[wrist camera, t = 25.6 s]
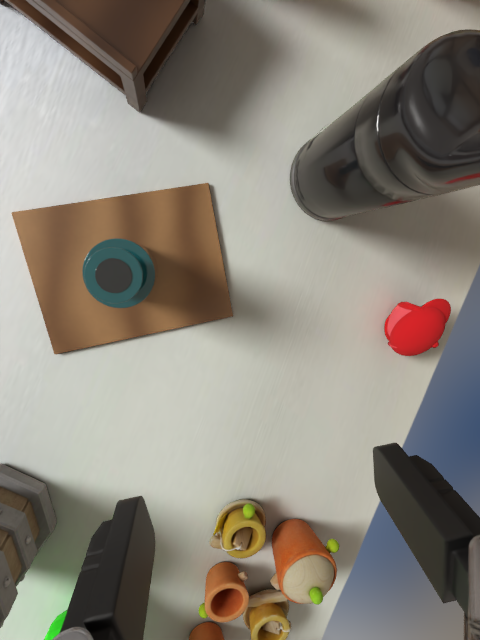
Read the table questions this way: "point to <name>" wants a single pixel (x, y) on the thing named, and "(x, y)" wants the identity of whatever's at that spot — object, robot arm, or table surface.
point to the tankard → (20, 530)
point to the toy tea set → (291, 577)
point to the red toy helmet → (416, 326)
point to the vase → (119, 272)
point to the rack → (117, 35)
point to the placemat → (144, 229)
